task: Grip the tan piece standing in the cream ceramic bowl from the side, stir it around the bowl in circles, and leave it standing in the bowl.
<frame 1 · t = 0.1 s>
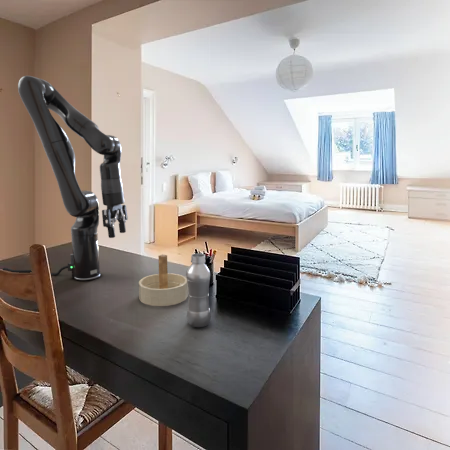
hand: (117, 235, 131), 17 cm above the table, tool pointing down, fingers open, 8 cm apart
tan piece: (163, 296, 116), point 1 cm above the table, touching bowl
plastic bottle: (198, 325, 98), on the table
bowl: (163, 298, 116), on the table
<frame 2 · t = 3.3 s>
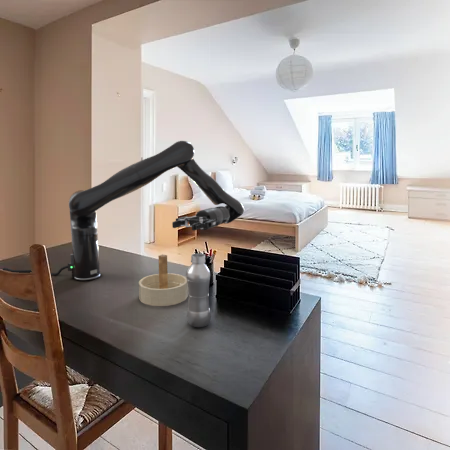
hand: (182, 226, 121), 22 cm above the table, tool horizontal, fingers open, 8 cm apart
nothing on the table moved.
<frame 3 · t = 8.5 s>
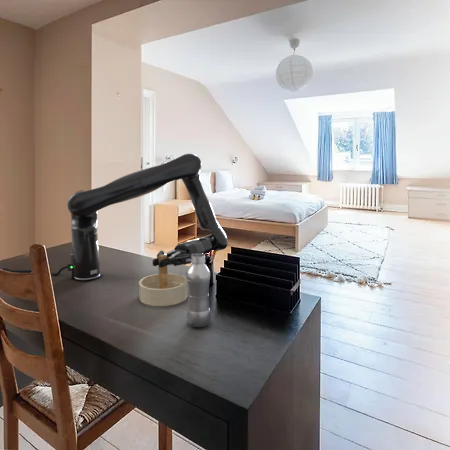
hand: (156, 263, 111), 13 cm above the table, tool horizontal, fingers closed on tan piece, 2 cm apart
tan piece: (163, 296, 116), point 1 cm above the table, touching bowl, gripper
everything else where it was.
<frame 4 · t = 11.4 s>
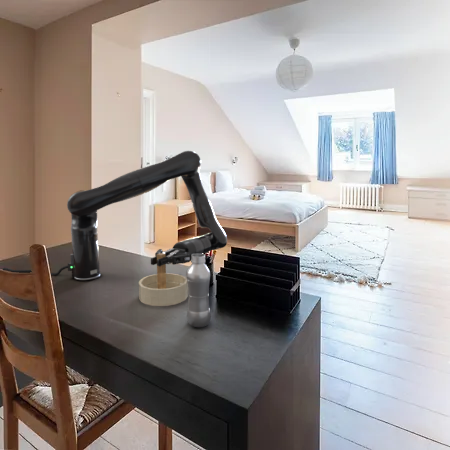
hand: (154, 262, 109), 14 cm above the table, tool horizontal, fingers closed on tan piece, 2 cm apart
tan piece: (162, 295, 114), point 2 cm above the table, touching gripper
everything else where it was.
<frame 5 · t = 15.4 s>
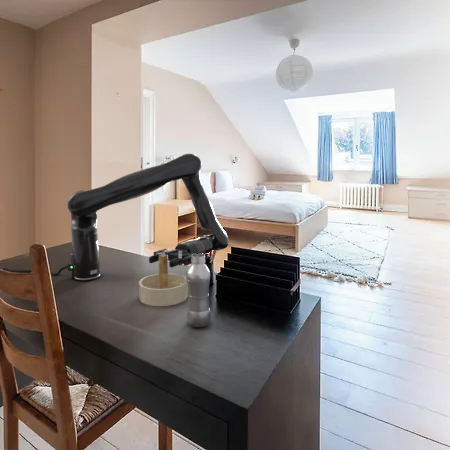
hand: (159, 262, 113), 13 cm above the table, tool horizontal, fingers open, 8 cm apart
tan piece: (164, 296, 116), point 1 cm above the table, touching bowl
everything else where it was.
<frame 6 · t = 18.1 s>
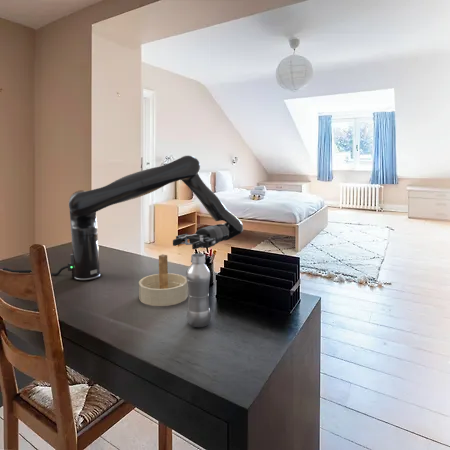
hand: (183, 244, 122), 16 cm above the table, tool horizontal, fingers open, 8 cm apart
nothing on the table moved.
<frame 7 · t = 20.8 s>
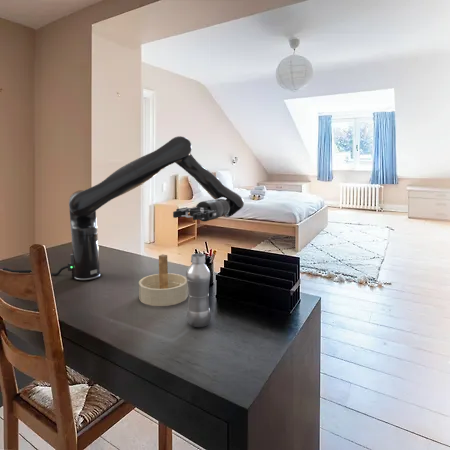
hand: (183, 215, 121), 26 cm above the table, tool horizontal, fingers open, 8 cm apart
nothing on the table moved.
at the end: tan piece inside the target area in the bowl (0.1 cm from its centre), point 0.6 cm above the bowl's base; the gripper is holding nothing; tan piece touching bowl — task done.
